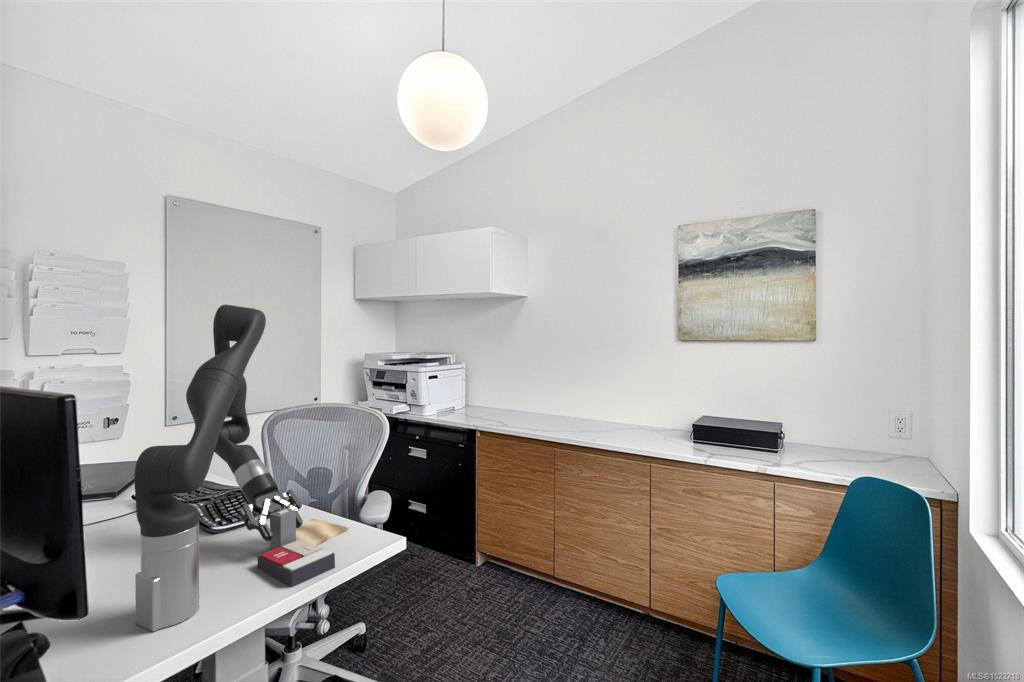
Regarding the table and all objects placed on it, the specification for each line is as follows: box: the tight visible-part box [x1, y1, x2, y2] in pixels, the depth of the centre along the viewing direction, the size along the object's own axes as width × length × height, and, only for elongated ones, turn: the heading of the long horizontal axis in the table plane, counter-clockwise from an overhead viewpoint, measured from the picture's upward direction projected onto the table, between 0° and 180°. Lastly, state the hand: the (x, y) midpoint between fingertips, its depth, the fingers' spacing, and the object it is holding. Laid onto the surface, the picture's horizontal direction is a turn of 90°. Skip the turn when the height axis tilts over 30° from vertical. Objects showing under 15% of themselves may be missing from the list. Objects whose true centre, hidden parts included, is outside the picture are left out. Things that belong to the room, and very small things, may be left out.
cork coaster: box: [296, 518, 349, 546], centre depth 127 cm, size 14×14×1 cm
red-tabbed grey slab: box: [257, 540, 336, 588], centre depth 109 cm, size 11×4×15 cm
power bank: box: [269, 508, 296, 551], centre depth 117 cm, size 4×4×10 cm
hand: (285, 532), depth 117 cm, fingers open, 8 cm apart
